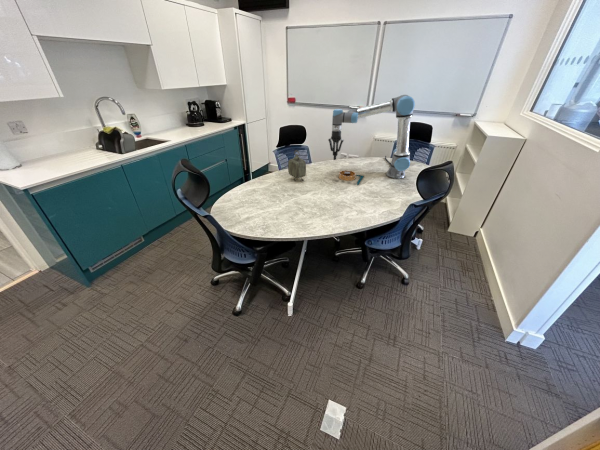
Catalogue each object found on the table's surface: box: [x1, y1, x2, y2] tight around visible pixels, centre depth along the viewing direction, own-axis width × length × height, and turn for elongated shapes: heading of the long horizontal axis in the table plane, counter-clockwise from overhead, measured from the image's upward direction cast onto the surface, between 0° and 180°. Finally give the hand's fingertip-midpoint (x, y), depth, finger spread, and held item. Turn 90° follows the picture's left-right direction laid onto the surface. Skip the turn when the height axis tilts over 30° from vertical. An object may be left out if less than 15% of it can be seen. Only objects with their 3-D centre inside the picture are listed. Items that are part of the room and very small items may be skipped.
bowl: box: [338, 169, 357, 182], centre depth 212 cm, size 14×14×4 cm
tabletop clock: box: [287, 150, 307, 182], centre depth 203 cm, size 14×9×25 cm, turn 34°
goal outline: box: [356, 174, 364, 186], centre depth 213 cm, size 22×22×1 cm
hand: (334, 159), depth 209 cm, fingers closed
